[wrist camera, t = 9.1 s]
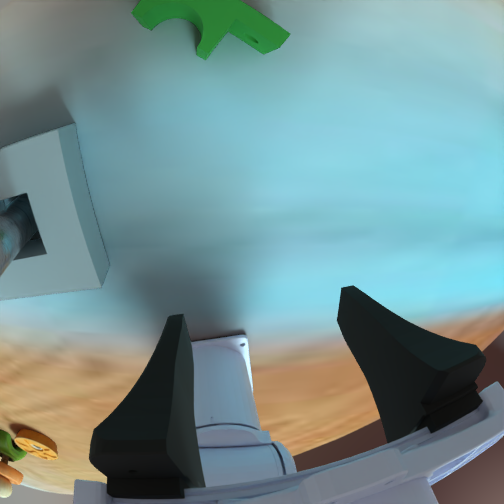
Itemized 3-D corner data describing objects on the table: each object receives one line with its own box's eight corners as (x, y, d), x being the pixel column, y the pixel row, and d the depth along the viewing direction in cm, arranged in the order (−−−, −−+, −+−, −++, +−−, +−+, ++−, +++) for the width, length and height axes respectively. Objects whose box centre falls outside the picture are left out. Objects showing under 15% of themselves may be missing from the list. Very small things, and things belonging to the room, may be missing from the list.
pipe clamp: (109, 11, 14) (89, -5, 10) (141, -29, 13) (129, -53, 9) (241, 83, 18) (253, 82, 14) (272, 43, 17) (291, 33, 13)
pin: (50, 224, 20) (-4, 296, 12) (22, 233, 20) (-34, 303, 12) (37, 188, 18) (-29, 248, 11) (9, 199, 18) (-57, 260, 10)
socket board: (109, 264, 23) (101, 287, 20) (5, 281, 21) (-8, 301, 19) (75, 122, 17) (57, 129, 14) (-36, 163, 16) (-57, 175, 13)
